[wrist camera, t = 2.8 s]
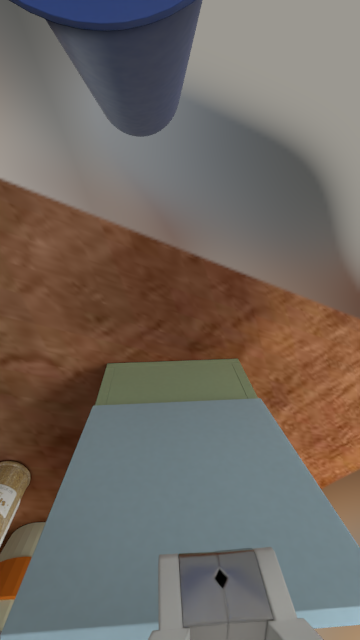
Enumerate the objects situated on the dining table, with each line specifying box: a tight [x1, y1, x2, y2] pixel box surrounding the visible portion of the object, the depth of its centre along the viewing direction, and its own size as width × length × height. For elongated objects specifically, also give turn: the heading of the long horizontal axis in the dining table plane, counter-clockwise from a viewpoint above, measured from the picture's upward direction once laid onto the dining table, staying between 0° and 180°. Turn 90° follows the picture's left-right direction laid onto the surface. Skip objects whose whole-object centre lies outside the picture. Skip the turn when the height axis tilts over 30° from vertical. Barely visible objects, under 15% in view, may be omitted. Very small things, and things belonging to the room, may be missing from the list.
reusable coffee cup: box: [0, 522, 46, 640], centre depth 37 cm, size 12×12×15 cm
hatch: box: [0, 398, 360, 640], centre depth 20 cm, size 17×14×1 cm
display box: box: [95, 359, 258, 406], centre depth 35 cm, size 16×14×8 cm
